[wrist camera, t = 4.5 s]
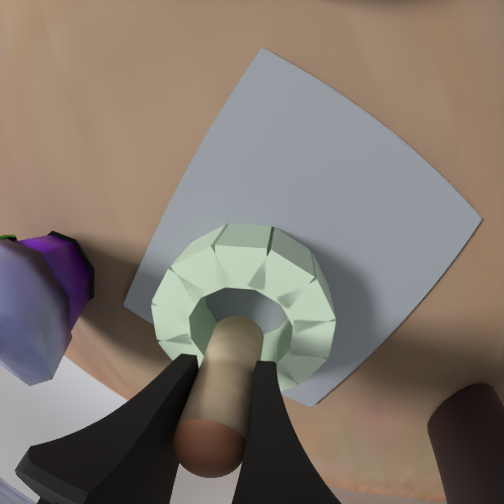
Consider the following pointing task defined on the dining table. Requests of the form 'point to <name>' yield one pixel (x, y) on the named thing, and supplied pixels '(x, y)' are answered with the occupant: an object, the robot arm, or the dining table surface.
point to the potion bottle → (40, 302)
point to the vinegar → (470, 446)
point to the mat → (314, 211)
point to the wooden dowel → (220, 401)
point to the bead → (256, 278)
